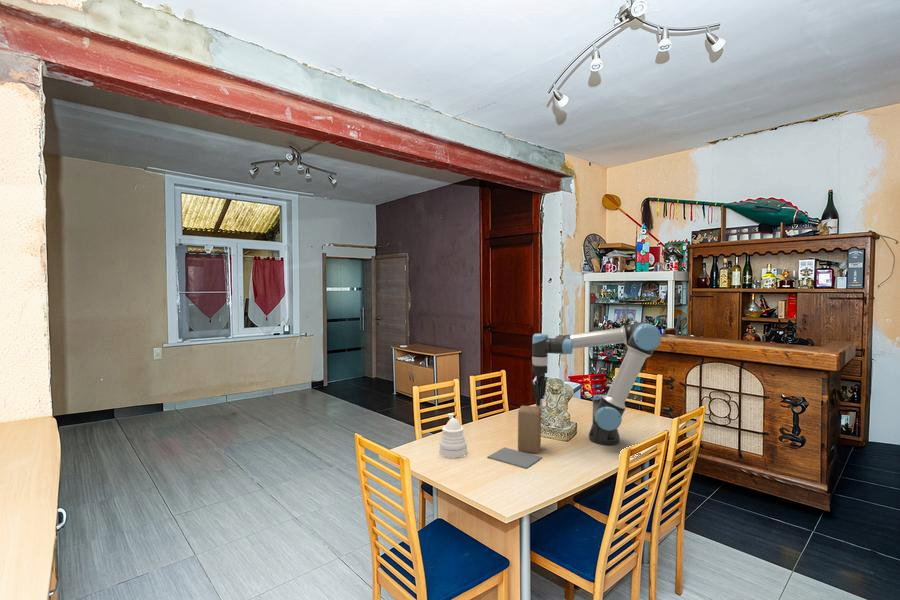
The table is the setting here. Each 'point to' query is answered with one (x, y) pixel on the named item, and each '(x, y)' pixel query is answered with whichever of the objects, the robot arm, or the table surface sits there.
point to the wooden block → (529, 429)
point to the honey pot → (453, 439)
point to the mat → (515, 457)
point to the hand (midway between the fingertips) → (539, 411)
